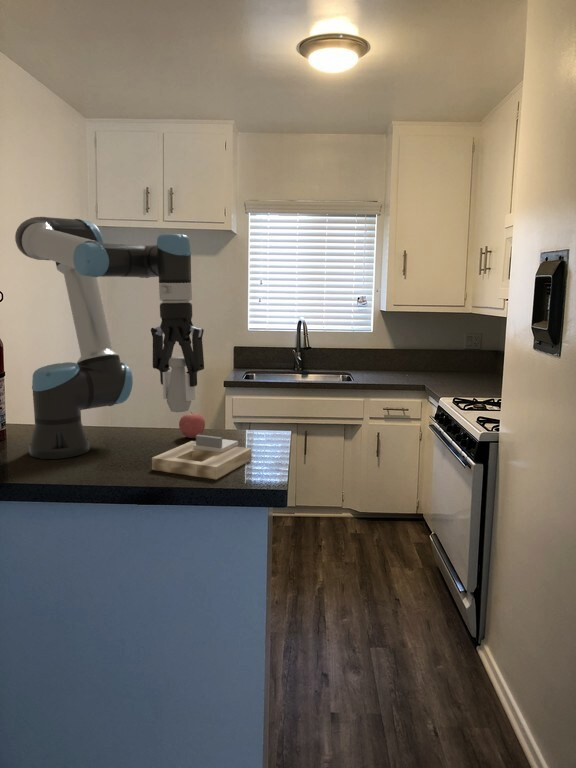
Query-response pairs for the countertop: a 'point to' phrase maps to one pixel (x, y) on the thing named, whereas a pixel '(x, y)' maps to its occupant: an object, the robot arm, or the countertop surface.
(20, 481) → the countertop surface
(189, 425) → the apple
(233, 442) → the shutter
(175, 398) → the salt shaker
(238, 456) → the socket board
